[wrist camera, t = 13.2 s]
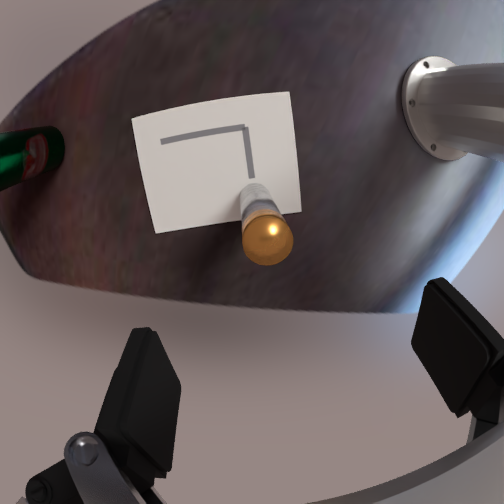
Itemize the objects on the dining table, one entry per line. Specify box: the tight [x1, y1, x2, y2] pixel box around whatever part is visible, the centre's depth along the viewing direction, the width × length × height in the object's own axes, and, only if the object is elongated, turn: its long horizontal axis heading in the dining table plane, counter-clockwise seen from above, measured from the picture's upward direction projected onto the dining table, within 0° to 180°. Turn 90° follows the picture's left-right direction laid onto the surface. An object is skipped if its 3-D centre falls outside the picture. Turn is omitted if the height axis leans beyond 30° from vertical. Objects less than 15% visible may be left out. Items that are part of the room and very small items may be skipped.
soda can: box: [0, 126, 65, 191], centre depth 18 cm, size 5×5×12 cm
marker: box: [239, 183, 293, 265], centre depth 22 cm, size 3×3×11 cm
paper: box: [132, 92, 302, 233], centre depth 26 cm, size 15×12×1 cm
